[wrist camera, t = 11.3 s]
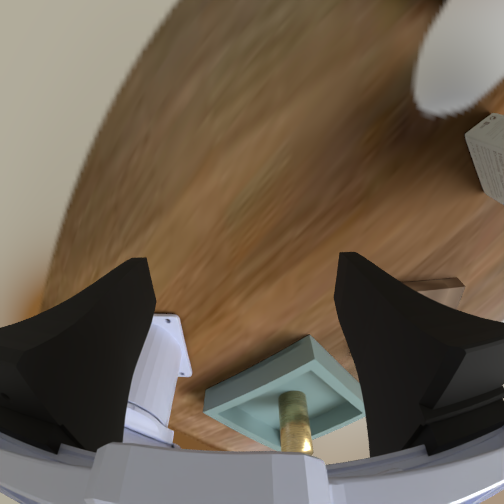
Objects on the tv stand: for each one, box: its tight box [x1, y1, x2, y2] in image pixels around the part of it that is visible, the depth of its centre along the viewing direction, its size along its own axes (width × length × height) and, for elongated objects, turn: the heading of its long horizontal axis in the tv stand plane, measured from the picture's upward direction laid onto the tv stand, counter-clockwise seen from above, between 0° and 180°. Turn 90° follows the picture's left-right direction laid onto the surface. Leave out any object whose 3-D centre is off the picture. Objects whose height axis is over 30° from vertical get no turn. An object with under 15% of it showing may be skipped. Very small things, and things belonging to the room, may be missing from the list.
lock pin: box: [278, 391, 313, 455], centre depth 27 cm, size 3×3×7 cm
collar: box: [402, 278, 465, 310], centre depth 25 cm, size 8×8×2 cm
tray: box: [203, 335, 366, 451], centre depth 30 cm, size 13×13×3 cm
